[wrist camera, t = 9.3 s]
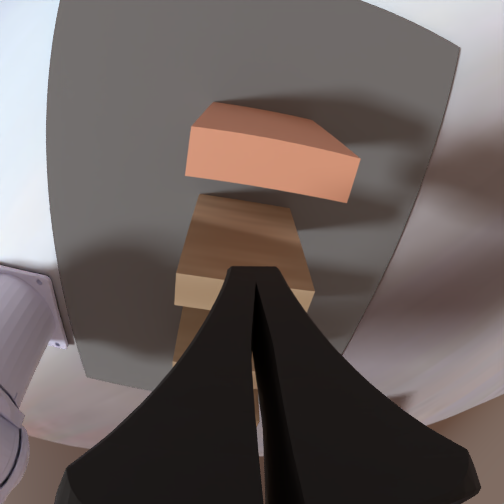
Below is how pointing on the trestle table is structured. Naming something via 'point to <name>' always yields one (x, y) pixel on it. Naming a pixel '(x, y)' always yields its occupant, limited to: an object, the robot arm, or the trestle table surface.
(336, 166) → the domino
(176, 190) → the mat
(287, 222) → the domino
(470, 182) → the trestle table surface
